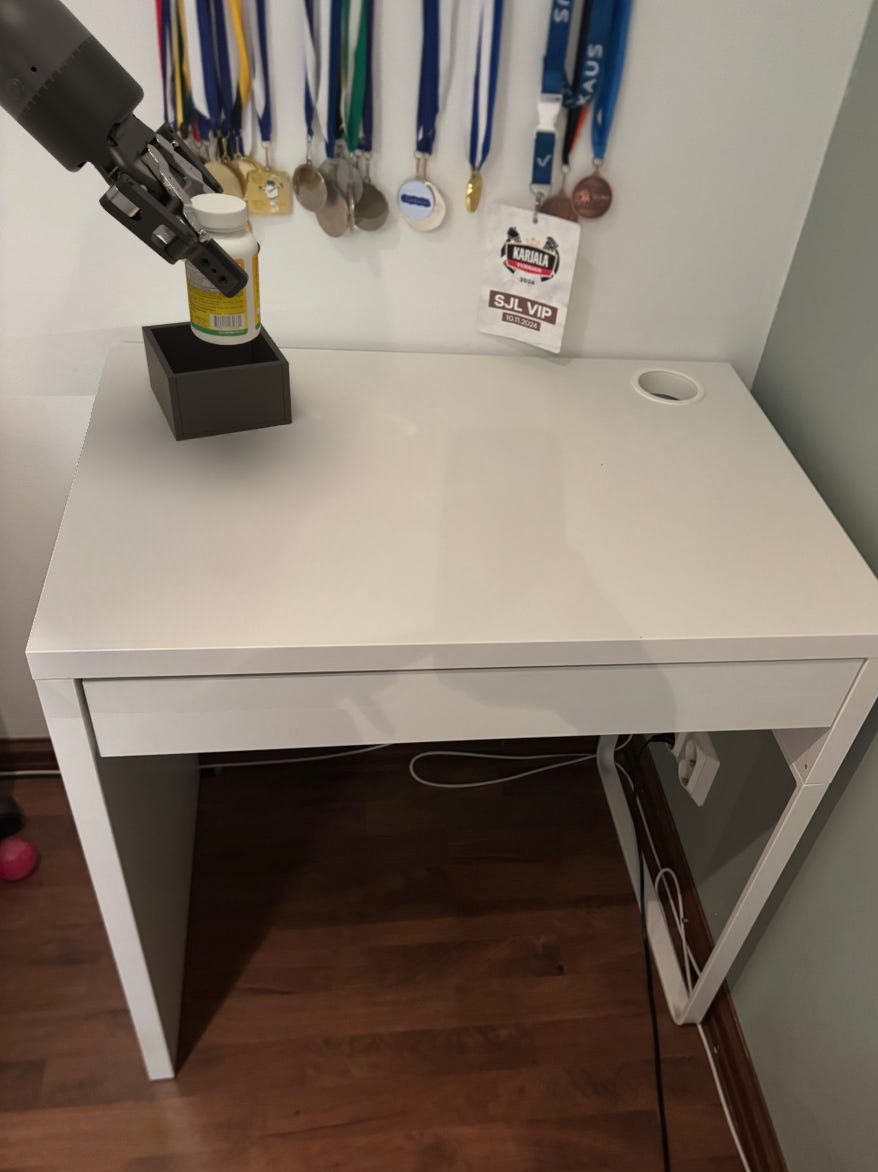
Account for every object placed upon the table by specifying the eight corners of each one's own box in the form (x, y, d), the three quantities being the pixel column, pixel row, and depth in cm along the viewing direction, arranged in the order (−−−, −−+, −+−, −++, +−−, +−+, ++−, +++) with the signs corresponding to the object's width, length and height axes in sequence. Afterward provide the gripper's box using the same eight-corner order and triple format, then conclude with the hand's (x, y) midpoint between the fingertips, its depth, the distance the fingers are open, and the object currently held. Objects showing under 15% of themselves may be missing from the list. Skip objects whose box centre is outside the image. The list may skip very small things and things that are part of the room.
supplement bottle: (227, 353, 72) (217, 221, 65) (175, 330, 73) (161, 200, 67) (276, 331, 75) (271, 204, 69) (226, 310, 77) (216, 184, 71)
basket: (176, 440, 91) (167, 378, 87) (150, 386, 98) (141, 326, 94) (292, 423, 95) (289, 362, 91) (259, 372, 103) (254, 314, 98)
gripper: (51, 56, 55) (269, 279, 65) (113, 11, 66) (292, 208, 75) (-22, 145, 58) (196, 346, 68) (49, 88, 69) (228, 269, 78)
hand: (246, 272), depth 71 cm, fingers closed on supplement bottle, 5 cm apart
